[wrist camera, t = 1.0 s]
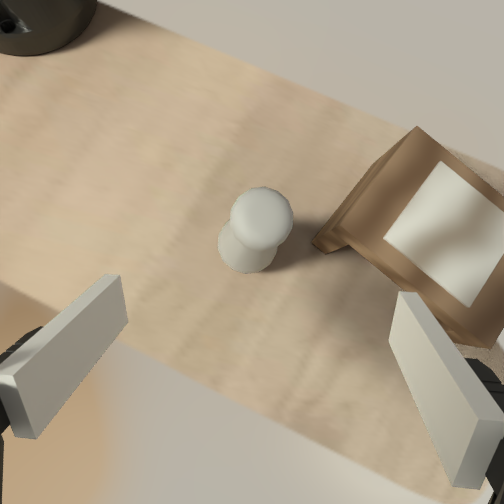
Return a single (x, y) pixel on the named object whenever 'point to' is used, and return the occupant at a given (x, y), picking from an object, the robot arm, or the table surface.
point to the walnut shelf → (430, 235)
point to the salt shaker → (255, 230)
